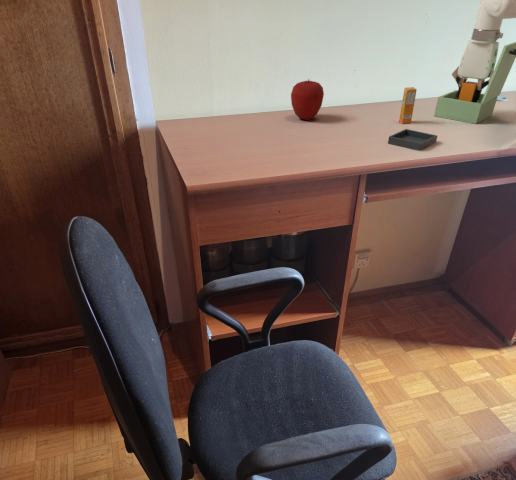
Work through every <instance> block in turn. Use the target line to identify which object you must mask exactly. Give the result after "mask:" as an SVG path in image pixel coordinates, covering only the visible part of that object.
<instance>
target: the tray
mask: <svg viewBox="0 0 516 480" xmlns="http://www.w3.org/2000/svg"><path fill="white" fill-rule="evenodd" d="M437 139H438V135H437V134H436V135H435V134H432V133H427V132H423V131H419V130H413V129H409V128H404V129H402V130H400V131H398V132H396V133H393V134H392V135H389V136H388V140H387V144H389V145H394V146H398V147H401V148H402V147H403V148H405V149H411V150H414V151H418V152H421V151H422V150H425V149H426V148H428V147H430V146H432V145H434V144H436V143H437Z"/></svg>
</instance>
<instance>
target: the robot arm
mask: <svg viewBox="0 0 516 480" xmlns="http://www.w3.org/2000/svg"><path fill="white" fill-rule="evenodd" d="M507 19H508V20H509V19H510V20H511V19H516V0H480V2H479V6H478V10H477V14H476V18H475V22H474V25H473V30H472V33H471V36H470V37H471V38H470V39H469V40H468V41H467V43H466V46H465V48H464V49H463V53H462V56H461V59H460V62H459V65H458V66H457V67H456V68H455V70H454V71H453V72H452V73H451V76H452V77H453V79H454V80H455V82H456V84H457V88H458V89H457V90H458V93H457V100H458V99H459V95H460V91H461V88H462V84H463V83H465V82H467V81H468V79H474V80H477V83H478V86H477V90H475V93H474V96H473V100H472V102H474V103H476V102H477V101H478V100H479V98H480V95H481V94H482V91H483V90H484V88H487V87H488V84H489V82H490V79H491V77H492V74H493V72H494V70H495V67H496V64H497V58H498V52H499V47H500V46H499V45H500V42H499V41H498V40H499V39H502V38H503V37H504V33H503V32H501V27H502V24H503V20H507ZM486 79H488V80H486Z"/></svg>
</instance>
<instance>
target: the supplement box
mask: <svg viewBox="0 0 516 480" xmlns="http://www.w3.org/2000/svg"><path fill="white" fill-rule="evenodd" d="M416 96H417V88H415V87H414V86H412V87H411V86H410V87H409V86H408V87H404V90H403V96H402V101H401V106H400V107H401V108H400V113H399V119H398V122H400V124H402V125H405V124H411V123H412V118H413V113H414V108H415V101H416Z"/></svg>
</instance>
